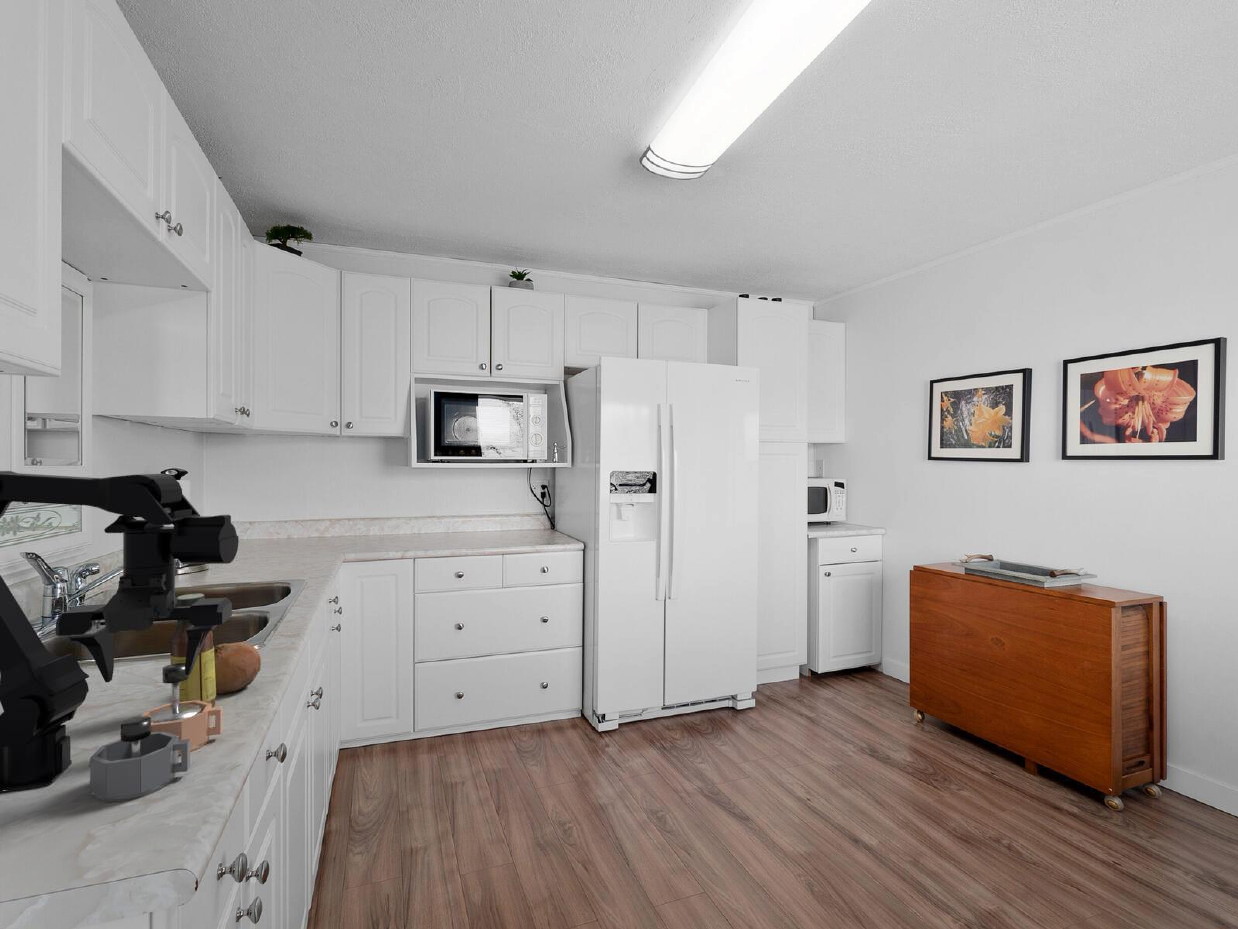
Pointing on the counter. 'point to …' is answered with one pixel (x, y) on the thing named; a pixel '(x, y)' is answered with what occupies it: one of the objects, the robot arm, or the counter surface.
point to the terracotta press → (191, 724)
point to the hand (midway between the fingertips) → (149, 677)
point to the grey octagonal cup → (137, 767)
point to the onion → (235, 666)
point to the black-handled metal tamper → (175, 697)
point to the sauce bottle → (204, 668)
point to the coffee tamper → (135, 732)
